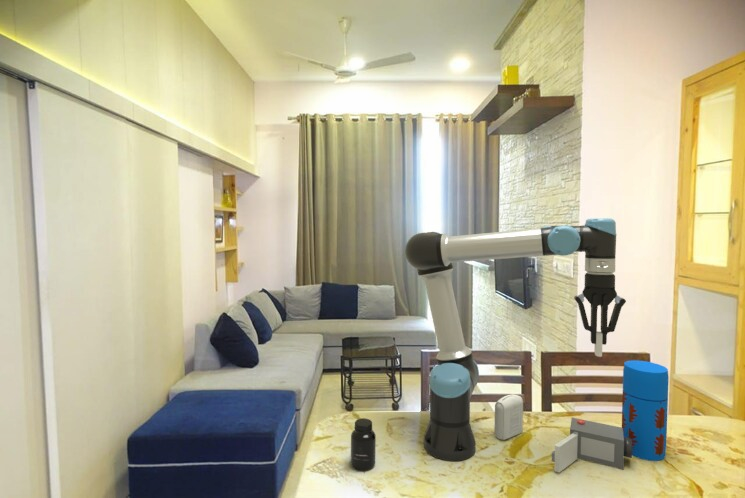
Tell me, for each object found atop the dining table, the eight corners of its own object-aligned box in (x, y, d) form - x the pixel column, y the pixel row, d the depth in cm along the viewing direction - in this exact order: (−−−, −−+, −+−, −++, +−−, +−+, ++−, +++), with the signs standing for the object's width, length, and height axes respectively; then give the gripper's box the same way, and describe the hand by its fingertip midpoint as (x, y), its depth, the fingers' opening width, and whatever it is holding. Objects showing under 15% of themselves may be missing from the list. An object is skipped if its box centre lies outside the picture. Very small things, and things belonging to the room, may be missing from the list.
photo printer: (513, 426, 131) (513, 389, 130) (524, 432, 127) (525, 394, 127) (492, 436, 125) (492, 397, 125) (503, 442, 122) (504, 402, 121)
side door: (571, 455, 114) (571, 430, 113) (578, 458, 112) (579, 432, 112) (551, 470, 107) (551, 442, 107) (558, 473, 105) (559, 446, 105)
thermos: (661, 445, 119) (664, 363, 118) (670, 465, 109) (673, 375, 108) (618, 438, 124) (620, 358, 122) (623, 455, 114) (626, 369, 113)
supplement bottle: (357, 474, 106) (357, 430, 105) (346, 461, 112) (346, 419, 111) (380, 467, 109) (379, 424, 109) (368, 455, 115) (368, 414, 115)
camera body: (569, 456, 114) (570, 427, 113) (571, 443, 121) (571, 415, 120) (632, 472, 106) (633, 440, 106) (630, 456, 113) (630, 427, 113)
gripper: (576, 273, 112) (574, 356, 113) (629, 275, 108) (628, 361, 109) (572, 271, 119) (571, 349, 120) (623, 272, 115) (621, 353, 116)
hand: (598, 355), depth 115 cm, fingers closed
